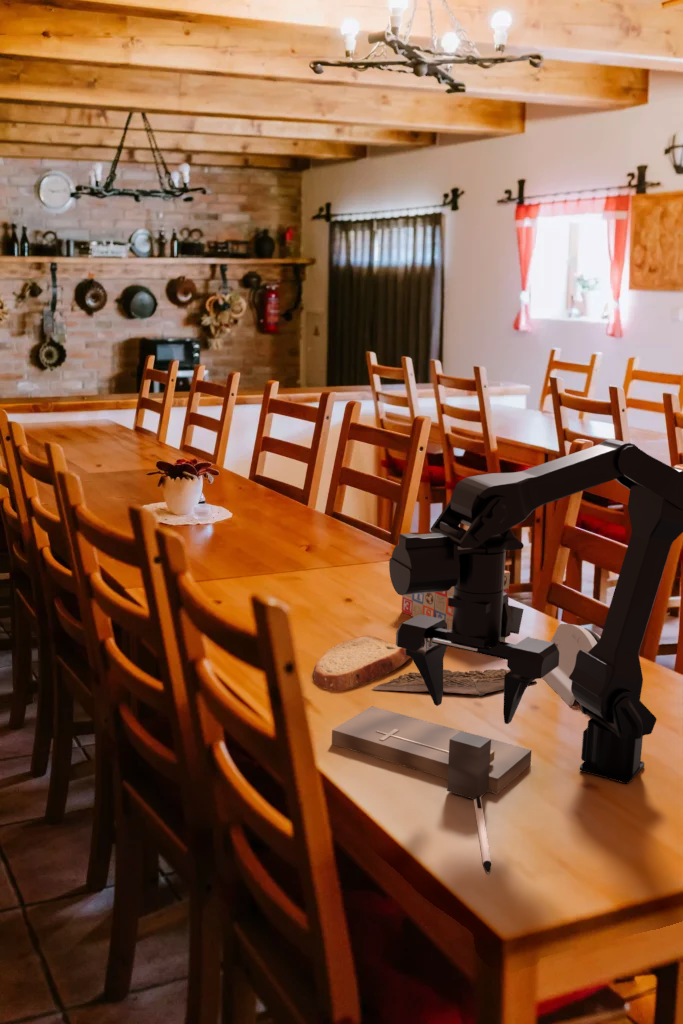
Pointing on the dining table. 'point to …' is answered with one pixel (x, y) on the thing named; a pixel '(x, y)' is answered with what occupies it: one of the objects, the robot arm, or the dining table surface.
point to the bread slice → (357, 662)
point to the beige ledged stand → (569, 657)
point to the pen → (482, 834)
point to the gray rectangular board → (422, 745)
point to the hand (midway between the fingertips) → (472, 713)
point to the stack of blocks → (437, 603)
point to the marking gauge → (469, 764)
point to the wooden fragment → (452, 682)
